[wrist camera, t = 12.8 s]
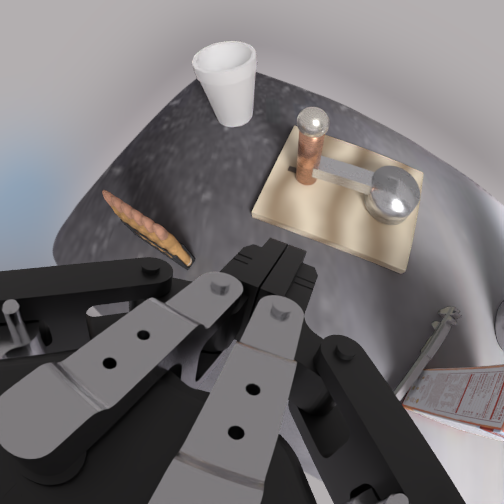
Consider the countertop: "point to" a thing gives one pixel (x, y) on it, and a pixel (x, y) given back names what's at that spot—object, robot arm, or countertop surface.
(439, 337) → the caliper
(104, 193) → the ammunition clip
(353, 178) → the lever
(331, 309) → the countertop surface
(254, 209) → the stand plate
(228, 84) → the foam cup
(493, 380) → the cracker box
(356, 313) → the countertop surface
